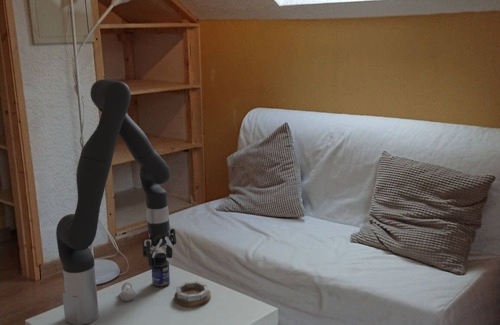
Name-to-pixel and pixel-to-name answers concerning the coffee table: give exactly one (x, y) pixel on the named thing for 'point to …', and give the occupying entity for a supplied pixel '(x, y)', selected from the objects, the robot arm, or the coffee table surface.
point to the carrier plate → (192, 304)
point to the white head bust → (127, 292)
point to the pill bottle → (160, 271)
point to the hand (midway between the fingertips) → (161, 262)
